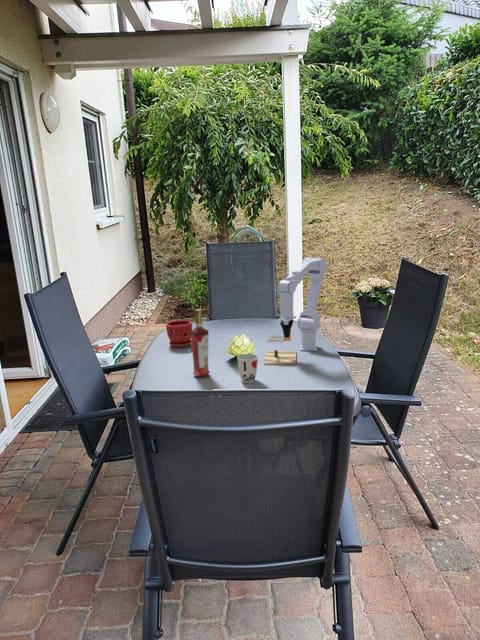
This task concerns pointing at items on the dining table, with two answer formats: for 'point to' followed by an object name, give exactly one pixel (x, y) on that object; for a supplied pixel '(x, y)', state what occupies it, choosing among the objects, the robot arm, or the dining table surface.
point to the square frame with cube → (279, 338)
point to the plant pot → (179, 333)
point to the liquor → (200, 347)
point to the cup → (247, 367)
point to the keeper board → (280, 358)
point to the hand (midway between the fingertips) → (287, 336)
